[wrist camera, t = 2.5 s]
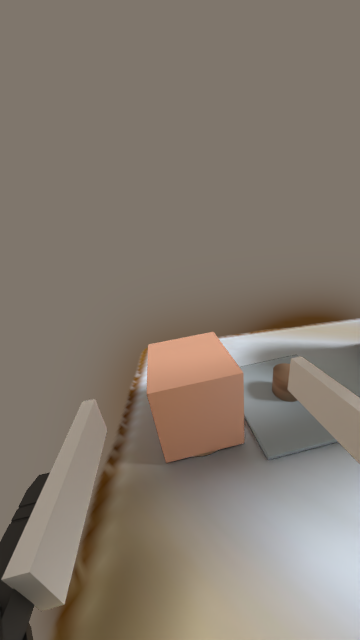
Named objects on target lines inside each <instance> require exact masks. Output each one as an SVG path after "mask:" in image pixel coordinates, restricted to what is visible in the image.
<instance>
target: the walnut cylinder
mask: <svg viewBox="0 0 360 640" xmlns="http://www.w3.org/2000/svg"><path fill="white" fill-rule="evenodd" d="M289 372H290V364H287V363H281V364H277V365H275V366H274V368H273V380H272V392H273V394H274V395H275V396H276V397H278V398H279V399H281V400H284V401H288V402H294V401H297V399H296V398H295V397H294V396H293V395H292V394H291V393H290V392H289V391H288V381H289Z"/></svg>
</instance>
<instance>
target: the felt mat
mask: <svg viewBox="0 0 360 640" xmlns="http://www.w3.org/2000/svg"><path fill="white" fill-rule="evenodd" d="M295 357H299V356H297V355H292V356H287V357H283V358H278V359H274V360H269V361H264V362H260V363H255V364H251V365H246V366H241V367H240V369H241V370H242V371H243V373H244V417H245V419H246V421H247V423H248V425H249V426H250V428H251V430H252V432H253V434H254V436H255V437H256V439H257V441H258V443H259V445H260V446H261V448H262V450H263V452H264V454H265V455H266V457H267V459H268V460H270V459H274V458H278V457H282V456H286V455H289V454H293V453H297V452H301V451H304V450H308V449H312V448H316V447H320V446H323V445H327V444H331V443H335V442H338V441H337V440H336V439H335V438H334V437H333V436H332V435H331V434H330V433H329V432H328V431H327V430H326V429H325V428H324V427H323V426H322V425H321V424H320V423H319V422H318V421H317V420H316V418H315V417H314V416H313V415H312V414H311V413H310V412H309V411H308V410H307V409H306V408H305V407H304V406H303V405H302V404H301V403H300V402H299V401H298V400H297V401H294V402H288V401H284V400H281V399H279V398H278V397H276V396H275V395H274V394H273V392H272V380H273V368H274V366H275V365H277V364H281V363H287V364H290V363H291V358H295Z"/></svg>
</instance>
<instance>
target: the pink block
mask: <svg viewBox="0 0 360 640" xmlns="http://www.w3.org/2000/svg"><path fill="white" fill-rule="evenodd" d="M147 397H148V400H149V404H150V408H151V411H152V415H153V418H154V422H155V425H156V429H157V433H158V436H159V440H160V443H161V447H162V451H163V454H164V458H165V461H166V463H168V462H172V461H176V460H180V459H184V458H188V457H192V456H196V455H200V454H204V453H207V452H211V451H215V450H219V449H223V448H227V447H231V446H235V445H239V444H243V443H244V373H243V371H242V370H241V369H240V367H239V366H238V365H237V363H236V362H235V361H234V359H233V358H232V357H231V355H230V354H229V352H228V351H227V350H226V348H225V347H224V346H223V344H222V343H221V342H220V340H219V339H218V338H217V336H216V335H215V334H214V332H210V333H204V334H199V335H195V336H190V337H184V338H180V339H175V340H169V341H164V342H159V343H154V344H150V345H148V369H147Z"/></svg>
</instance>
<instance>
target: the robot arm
mask: <svg viewBox="0 0 360 640" xmlns="http://www.w3.org/2000/svg"><path fill="white" fill-rule="evenodd" d="M288 391H289V392H290V393H291V394H292V395H293V396H294V397H295V398H296V399H297V400H298V401H299V402H300V403H301V404H302V405H303V406H304V407H305V408H306V409H307V410H308V411H309V412H310V413H311V414H312V415H313V416H314V417H315V418H316V420H317V421H318V422H319V423H320V424H321V425H322V426H323V427H324V428H325V429H326V430H327V431H328V432H329V433H330V434H331V435H332V436H333V437H334V438H335V439H336V440H337V441H338V442H339V443H340V444H341V445H342V446H343V447H344V448H345V449H346V450H347V451H348V452H349V453H350V455H351V456H352V457H353V458H354V459H355V460H356V461H357V462H358V463H359V464H360V397H358V396H357V395H355V394H354V393H353V392H351V391H350V390H348V389H347V388H345V387H344V386H343V385H341V384H340V383H338V382H337V381H336V380H334V379H333V378H331V377H330V376H329V375H327V374H326V373H324V372H323V371H322V370H320V369H319V368H317V367H316V366H315V365H313V364H312V363H310V362H309V361H307V360H306V359H305V358H303V357H302V356H300V357H295V358H291V363H290V372H289V381H288ZM106 434H107V428H106V425H105V422H104V420H103V417H102V415H101V412H100V410H99V407H98V405H97V402H96V400H95V399H92V400H87V401H83V402H82V404H81V406H80V408H79V410H78V412H77V415H76V417H75V419H74V421H73V423H72V426H71V428H70V430H69V432H68V434H67V437H66V439H65V441H64V443H63V445H62V448H61V450H60V452H59V454H58V456H57V459H56V461H55V463H54V465H53V467H52V470H51V472H50V473H47V474H42V475H39V476H38V477H37V478H36V480H35V481H34V482H33V484H32V485H31V486H30V487H29V488H28V490H27V491H26V493H25V495H24V497H23V499H22V501H21V503H20V505H19V509H18V510H17V511H16V513H15V515H14V517H13V518H12V522H11V524H9V526H8V528H7V530H6V532H5V534H4V536H3V538H2V540H1V542H0V640H33V636H32V630H31V626H30V624H29V620H30V617H31V614H32V611H33V608H34V606H35V607H36V608H38V609H39V610H40V611H44V610H48V609H51V608H55V607H58V606H61V605H64V604H65V600H66V596H67V592H68V588H69V584H70V580H71V576H72V572H73V568H74V564H75V560H76V556H77V552H78V548H79V543H80V539H81V535H82V531H83V527H84V523H85V519H86V515H87V511H88V507H89V503H90V499H91V495H92V491H93V486H94V482H95V478H96V474H97V470H98V466H99V462H100V458H101V454H102V450H103V445H104V442H105V438H106Z"/></svg>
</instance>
